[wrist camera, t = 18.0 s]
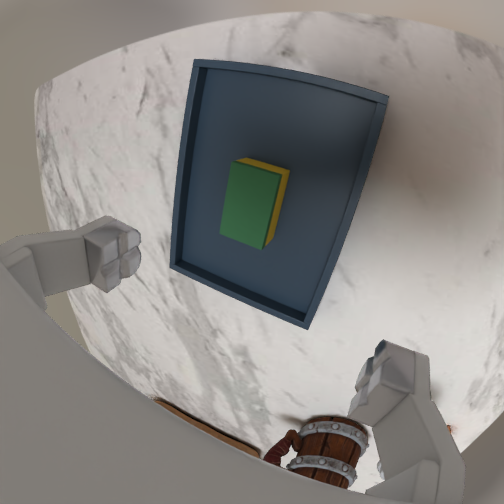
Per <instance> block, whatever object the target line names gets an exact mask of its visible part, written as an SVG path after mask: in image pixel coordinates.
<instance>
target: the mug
mask: <svg viewBox="0 0 504 504" xmlns="http://www.w3.org/2000/svg"><path fill="white" fill-rule="evenodd" d="M360 427H361V426H360V425H358V424H356V423H355V422H353V421H350V420H347V419H344V418H337V417H334V418H333V419H331V417H320V418H317V419H313V420H311V421H309V422H308V423H307V425H305V426H304V427H303V428H301V430H300V432H298V433H297V432H296V431H295V430H289V431H288V432H287V434H286V435H285V437H284V438H283V439H281V440H280V441H279V442H278V443H276V444H275V445H274V446H273V447H272V448H271V449H270V450H269V451H268V452H267V454H266V455H265V456H264V459H263V461H266V462H268V463H271V464H273V465H275V466H278V467H280V468H283V467H281V466H280V464H281V457H282V456H284V455H286V454H287V453H288V452H289V448H290V446H291V445H292V448H293V449H294V451H295V452H298V453H297V456H296V458H294V459H292V460H291V462H290V464H287V466H286V468H287V469H288V471H291V472H294V473H296V474H299V475H302V476H305V477H308V478H311V479H314V480H317V481H320V482H323V483H326V484H329V485H333V486H336V487H340V488H343V489H347V488H348V487H350V486H351V485H352V484H353V483H354V481H355V480H356V479H357V475H356V471H355V467H356V465H357V462H358V459H359V457H361V456H362V455H363V454H364V453H365V451H366V448H368V447H369V444H368V439H367V437H366V432H365V431H364V429H363V428H360ZM283 469H285V468H283ZM287 469H286V470H287Z"/></svg>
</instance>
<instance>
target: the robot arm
mask: <svg viewBox="0 0 504 504" xmlns="http://www.w3.org/2000/svg"><path fill="white" fill-rule="evenodd" d="M140 243H141V234H140V233H139V232H138V230H136V229H134V228H132V227H130V226H128V225H126V224H125V223H123V222H121V221H119V220H117V219H115V218H113V217H111V216H103V217H101V218H99V219H97V220H95V221H93V222H91V223H89V224H87V225H84V226H82V227H80V228H78V229H76V230H74V231H73V230H63V231H54V232H45V233H38V234H29V235H21V236H16V237H15V238H13V239H11V240H9V241H7V242H5V243H3V244H1V245H0V504H462V502H463V493H464V484H465V471H466V470H465V469H466V465H465V463H464V461H463V458H462V456H461V454H460V452H459V450H458V448H457V446H456V444H455V442H454V439H453V437H452V435H451V433H450V431H449V429H448V427H447V425H446V423H445V422H444V420H443V418H442V416H441V414H440V412H439V410H438V408H437V406H436V404H435V403H434V401H431V400H430V365H429V357H428V356H427V355H424V354H422V353H419V352H416V351H412V350H409V349H407V348H404V347H401V346H399V345H396V344H394V343H391V342H389V341H386V340H384V339H383V340H382V341H381V342H380V343H379V344H378V346H377V347H376V348H375V354H374V356H373V357H371V358H368V360H367V361H366V363H365V364H364V365H363V367H362V369H361V371H360V373H359V375H358V378H357V381H356V385H355V389H356V391H357V394H356V395H355V396H354V397H353V399H352V401H351V405H350V409H349V412H348V416H347V418H349V419H352V420H355V421H357V422H360V423H363V424H365V425H368V426H371V427H373V428H372V431H373V434H374V438H375V442H376V446H377V450H378V453H379V457H380V462H381V466H382V470H383V474H384V478H385V481H383V482H381V483H379V484H377V485H375V486H373V487H371V488H369V489H367V490H366V492H365V494H363V493H359V492H355V491H351V490H347V489H343V488H340V487H336V486H333V485H329V484H326V483H323V482H320V481H317V480H314V479H311V478H308V477H305V476H302V475H299V474H296V473H294V472H291V471H288V470H286V469H283V468H280V467H278V466H275V465H273V464H271V463H268V462H266V461H263V460H261V459H259V458H257V457H254V456H252V455H250V454H248V453H245V452H243V451H241V450H239V449H237V448H235V447H233V446H231V445H229V444H227V443H225V442H223V441H221V440H219V439H217V438H215V437H213V436H211V435H210V434H208V433H206V432H204V431H202V430H200V429H199V428H197V427H195V426H193V425H192V424H190V423H188V422H186V421H185V420H183V419H181V418H180V417H178V416H176V415H175V414H173V413H172V412H170V411H168V410H167V409H165V408H164V407H162V406H161V405H159V404H157V403H156V402H154V401H153V400H151V399H150V398H148V397H147V396H146V395H144V394H143V393H141V392H140V391H138V390H137V389H136V388H134V387H133V386H131V385H130V384H129V383H127V382H126V381H125V380H123V379H122V378H121V377H119V376H118V375H117V374H115V373H114V372H113V371H111V370H110V369H109V368H108V367H106V366H105V365H104V364H103V363H101V362H100V361H99V360H98V359H96V358H95V357H94V356H93V355H92V354H90V353H89V352H88V351H87V350H86V349H85V348H83V347H82V346H81V345H80V344H79V343H78V342H76V341H75V340H74V339H73V338H72V337H71V336H70V335H69V334H68V333H66V331H64V330H63V329H62V328H61V327H60V326H59V325H58V324H57V323H56V322H55V321H54V320H53V319H52V318H51V317H50V316H49V315H48V314H47V313H46V312H45V310H46V309H47V303H46V300H45V297H46V296H49V295H53V294H56V293H60V292H63V291H67V290H71V289H74V288H78V287H81V286H85V285H89V284H91V283H92V284H93V285H95V286H96V287H98V288H99V289H101V290H103V291H104V292H106V293H108V292H109V291H111V290H112V289H113V288H115V287H116V286H118V285H119V284H120V283H121V279H122V278H128V277H130V276H132V275H133V274H134V273H135V272H136V271H137V269H138V268H139V266H140V262H141V252H140V250H139V248H138V246H139V244H140Z"/></svg>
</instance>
